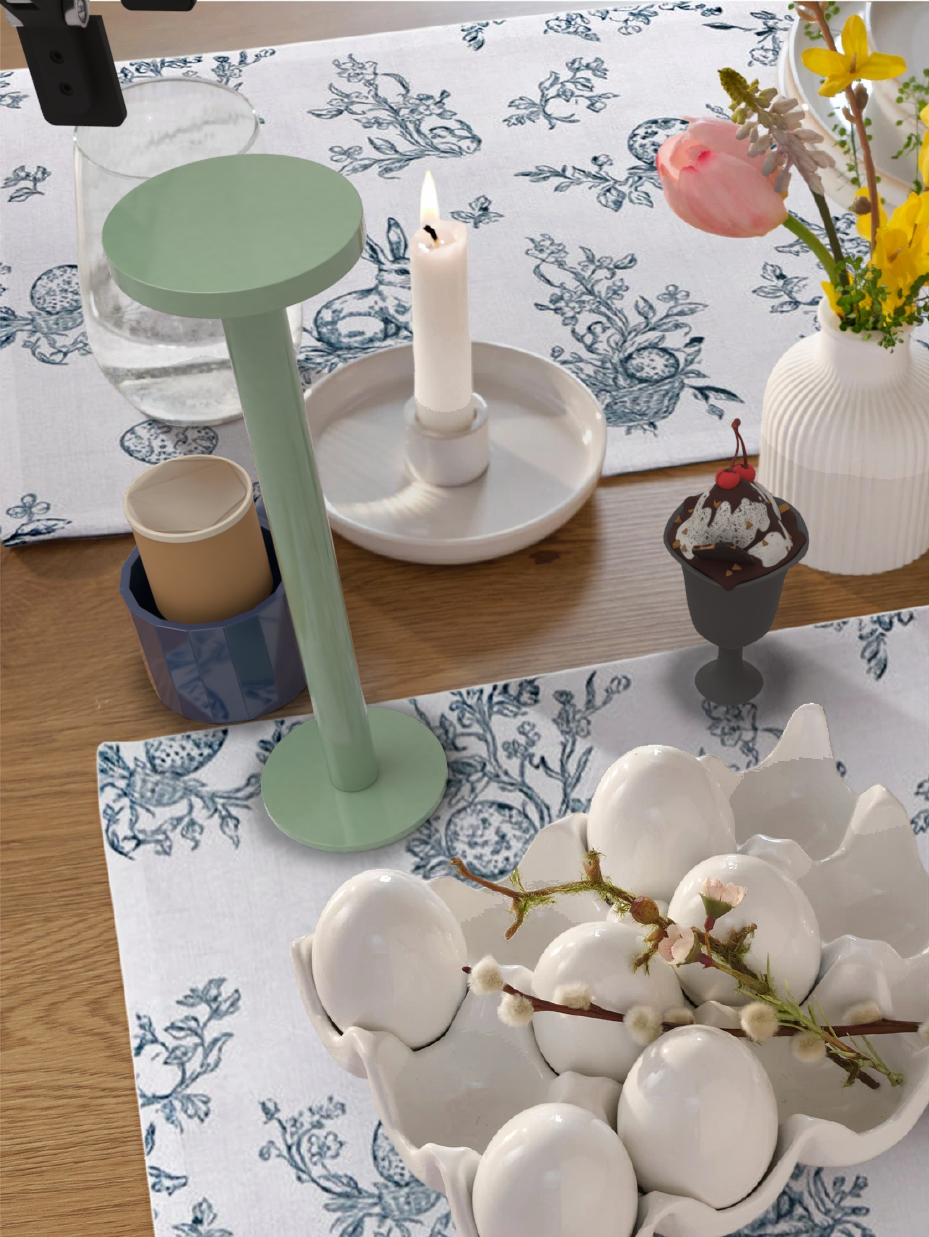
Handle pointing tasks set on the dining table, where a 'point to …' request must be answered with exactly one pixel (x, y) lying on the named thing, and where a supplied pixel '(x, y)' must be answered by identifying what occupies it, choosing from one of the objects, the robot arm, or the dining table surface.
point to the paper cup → (199, 538)
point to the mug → (217, 650)
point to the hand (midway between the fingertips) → (126, 62)
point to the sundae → (734, 570)
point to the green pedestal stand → (284, 461)
